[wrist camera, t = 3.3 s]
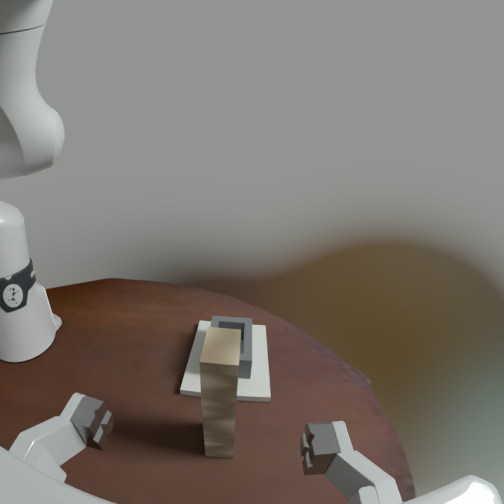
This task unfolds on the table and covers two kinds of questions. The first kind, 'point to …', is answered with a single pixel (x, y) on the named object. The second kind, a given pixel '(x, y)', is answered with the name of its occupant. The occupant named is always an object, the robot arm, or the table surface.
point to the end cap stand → (250, 360)
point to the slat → (219, 389)
